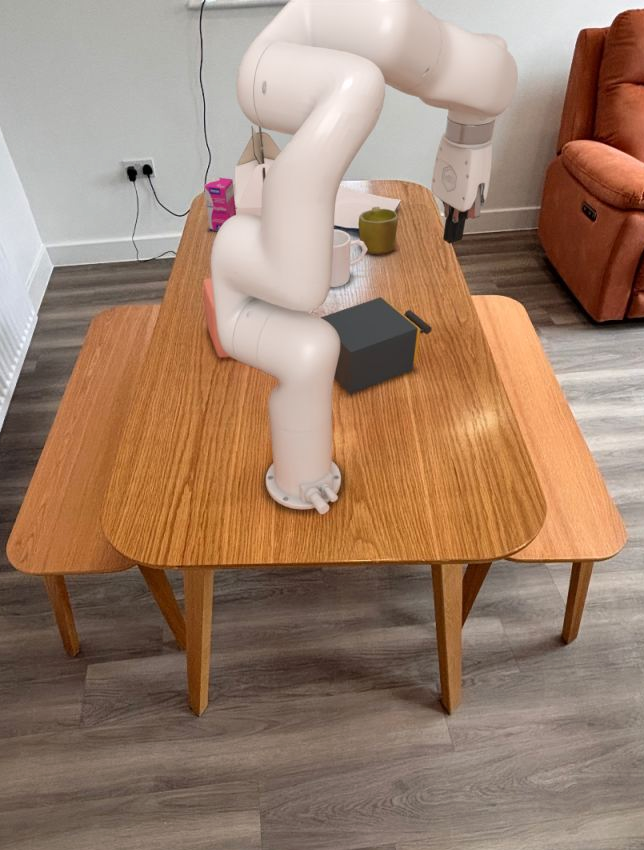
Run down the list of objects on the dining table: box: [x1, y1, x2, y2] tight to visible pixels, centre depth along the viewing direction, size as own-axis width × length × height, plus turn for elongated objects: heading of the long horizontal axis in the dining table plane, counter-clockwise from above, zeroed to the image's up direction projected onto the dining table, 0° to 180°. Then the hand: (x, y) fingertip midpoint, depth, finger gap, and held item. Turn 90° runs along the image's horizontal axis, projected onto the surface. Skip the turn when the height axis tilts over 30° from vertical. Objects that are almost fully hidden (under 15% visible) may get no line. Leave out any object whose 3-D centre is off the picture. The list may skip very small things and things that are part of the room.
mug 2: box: [358, 207, 399, 255], centre depth 156 cm, size 12×10×10 cm
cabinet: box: [319, 296, 418, 395], centre depth 124 cm, size 15×13×10 cm
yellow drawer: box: [385, 300, 432, 365], centre depth 126 cm, size 18×11×8 cm, turn 119°
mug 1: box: [330, 228, 368, 288], centre depth 146 cm, size 8×12×10 cm
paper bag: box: [234, 125, 282, 217], centre depth 146 cm, size 22×13×28 cm, turn 5°
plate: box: [334, 185, 402, 232], centre depth 169 cm, size 20×20×3 cm
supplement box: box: [203, 176, 236, 232], centre depth 164 cm, size 6×6×12 cm
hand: (452, 239), depth 117 cm, fingers closed
